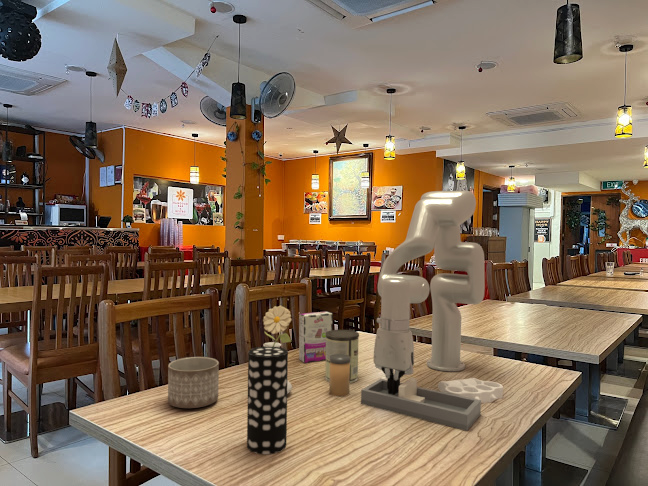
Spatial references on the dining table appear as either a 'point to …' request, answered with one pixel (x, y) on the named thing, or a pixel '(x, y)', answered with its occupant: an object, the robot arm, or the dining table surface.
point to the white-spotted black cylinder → (267, 399)
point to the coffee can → (342, 350)
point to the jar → (339, 374)
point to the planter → (193, 382)
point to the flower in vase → (278, 328)
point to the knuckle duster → (473, 389)
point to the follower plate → (410, 390)
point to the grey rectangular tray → (425, 405)
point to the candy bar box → (313, 335)
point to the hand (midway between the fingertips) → (393, 392)
